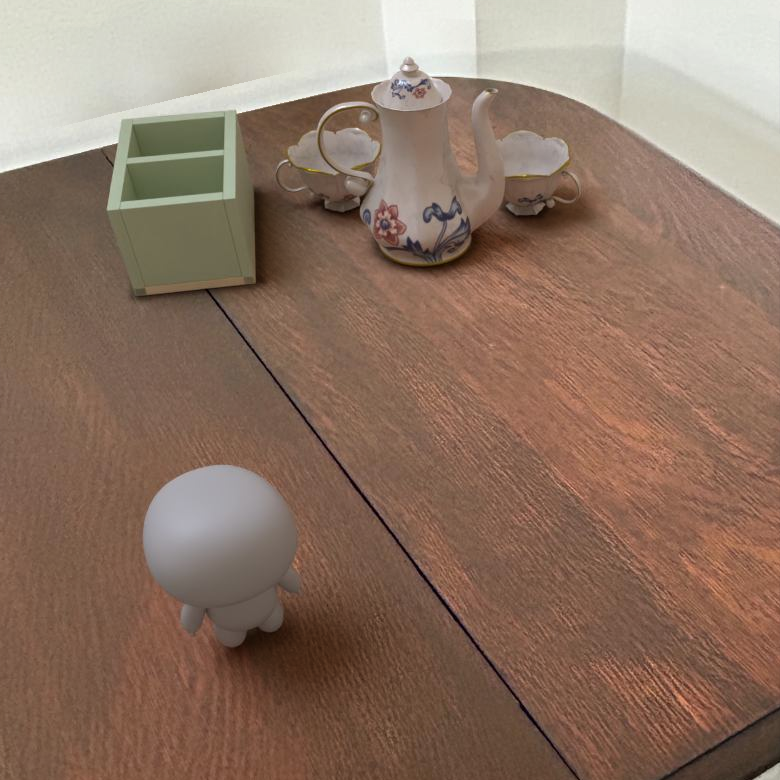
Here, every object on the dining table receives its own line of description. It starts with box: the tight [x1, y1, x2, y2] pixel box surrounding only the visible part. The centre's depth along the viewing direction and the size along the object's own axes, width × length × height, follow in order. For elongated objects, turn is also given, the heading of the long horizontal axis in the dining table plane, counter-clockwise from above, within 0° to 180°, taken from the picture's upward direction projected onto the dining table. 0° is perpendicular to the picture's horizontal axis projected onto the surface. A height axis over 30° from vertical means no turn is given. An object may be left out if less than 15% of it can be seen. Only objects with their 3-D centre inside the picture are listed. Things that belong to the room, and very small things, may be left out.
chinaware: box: [275, 56, 582, 268], centre depth 89 cm, size 28×17×17 cm, turn 93°
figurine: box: [142, 464, 302, 648], centre depth 58 cm, size 8×8×12 cm
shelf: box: [106, 109, 257, 297], centre depth 90 cm, size 16×10×8 cm, turn 11°
